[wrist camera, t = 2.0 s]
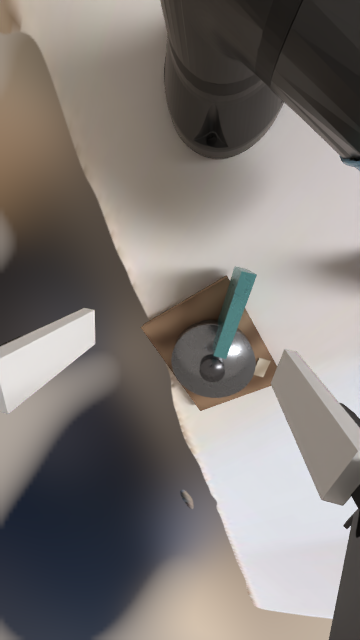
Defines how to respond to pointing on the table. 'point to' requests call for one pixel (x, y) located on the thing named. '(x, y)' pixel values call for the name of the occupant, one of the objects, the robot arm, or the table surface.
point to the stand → (202, 308)
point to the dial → (218, 346)
